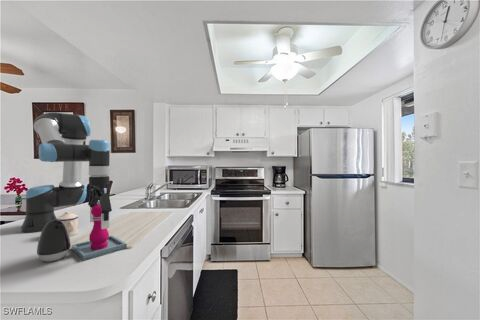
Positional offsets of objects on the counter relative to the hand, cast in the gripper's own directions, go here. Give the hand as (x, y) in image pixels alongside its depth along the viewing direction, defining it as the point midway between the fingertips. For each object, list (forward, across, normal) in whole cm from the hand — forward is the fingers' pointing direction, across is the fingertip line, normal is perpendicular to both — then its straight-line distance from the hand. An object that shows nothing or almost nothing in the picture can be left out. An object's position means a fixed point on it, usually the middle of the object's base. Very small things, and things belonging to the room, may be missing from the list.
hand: (99, 224), depth 97 cm
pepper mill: (+10, 0, 0) cm, 10 cm away
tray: (+10, 0, 0) cm, 10 cm away
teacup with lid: (+11, +31, +4) cm, 33 cm away
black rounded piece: (+11, +2, +15) cm, 18 cm away
